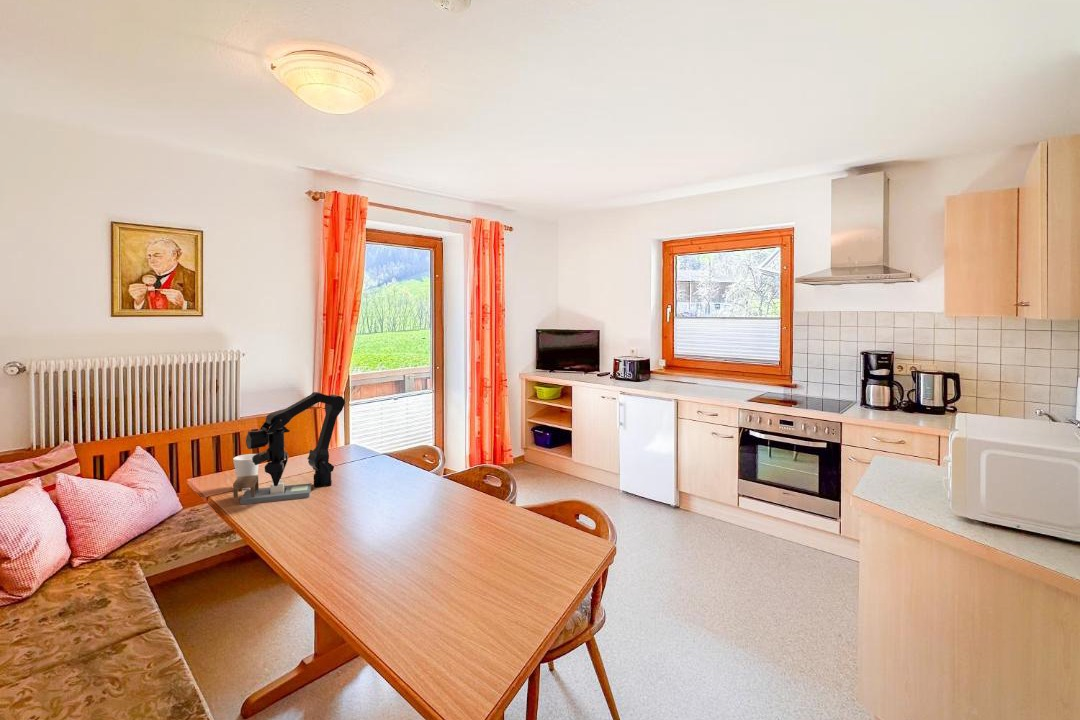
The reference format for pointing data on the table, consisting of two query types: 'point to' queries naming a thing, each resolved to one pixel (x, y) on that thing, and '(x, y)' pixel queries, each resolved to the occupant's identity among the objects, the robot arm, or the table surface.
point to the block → (277, 488)
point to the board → (265, 495)
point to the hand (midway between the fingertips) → (277, 482)
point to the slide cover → (245, 485)
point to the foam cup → (245, 466)
